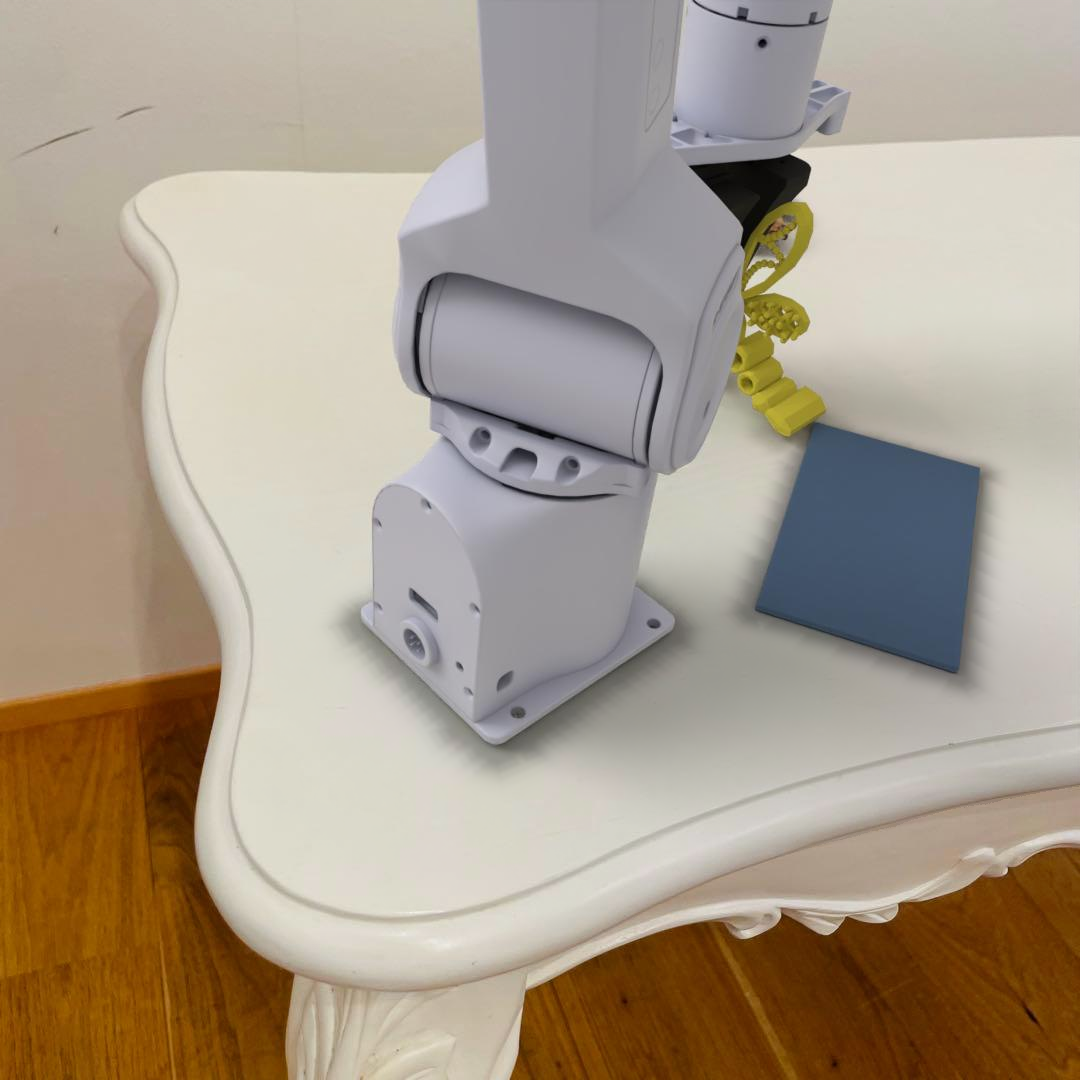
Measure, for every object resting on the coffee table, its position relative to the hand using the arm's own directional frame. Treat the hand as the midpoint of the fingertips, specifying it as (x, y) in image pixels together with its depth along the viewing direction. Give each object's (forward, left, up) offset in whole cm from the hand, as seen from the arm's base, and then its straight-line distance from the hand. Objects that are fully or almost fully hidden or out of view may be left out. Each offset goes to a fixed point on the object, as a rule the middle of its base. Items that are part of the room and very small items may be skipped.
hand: (696, 302), depth 54 cm
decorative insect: (+1, -1, -4) cm, 4 cm away
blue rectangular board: (-2, -13, -4) cm, 14 cm away
